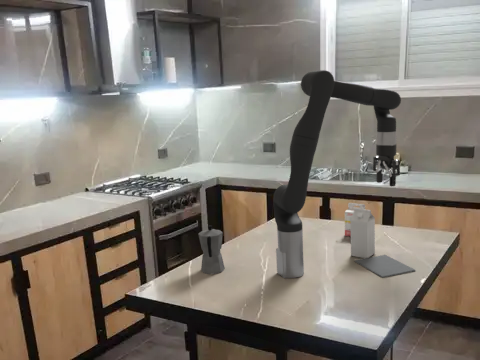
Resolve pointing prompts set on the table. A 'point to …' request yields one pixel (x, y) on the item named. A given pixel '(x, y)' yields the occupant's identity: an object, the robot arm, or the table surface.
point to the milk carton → (362, 233)
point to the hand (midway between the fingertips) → (385, 184)
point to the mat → (384, 266)
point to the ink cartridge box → (348, 216)
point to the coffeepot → (211, 251)
